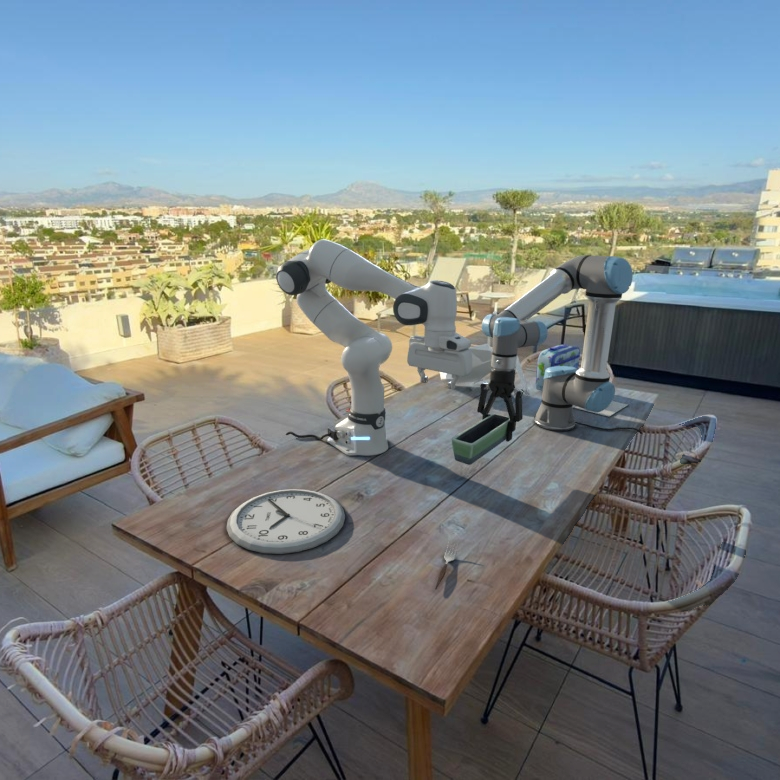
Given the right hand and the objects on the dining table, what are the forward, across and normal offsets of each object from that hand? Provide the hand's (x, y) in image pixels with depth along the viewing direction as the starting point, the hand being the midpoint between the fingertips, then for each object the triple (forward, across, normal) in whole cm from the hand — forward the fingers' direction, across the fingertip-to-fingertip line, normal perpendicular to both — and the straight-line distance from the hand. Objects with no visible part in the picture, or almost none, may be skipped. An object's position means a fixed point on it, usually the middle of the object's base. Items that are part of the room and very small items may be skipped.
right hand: (497, 437), depth 168 cm
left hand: (-20, -11, -20) cm, 30 cm away
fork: (+9, +16, -59) cm, 61 cm away
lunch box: (+9, -14, +93) cm, 94 cm away
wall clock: (+9, -27, -66) cm, 72 cm away
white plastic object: (+9, -40, +65) cm, 77 cm away
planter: (+1, 0, -10) cm, 11 cm away
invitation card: (+9, +11, +80) cm, 82 cm away
